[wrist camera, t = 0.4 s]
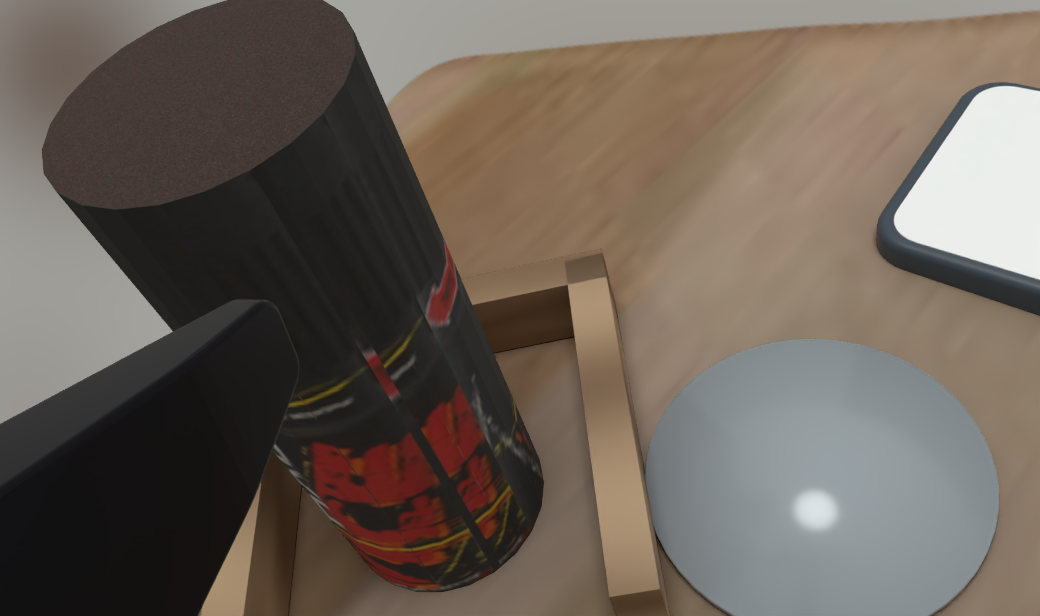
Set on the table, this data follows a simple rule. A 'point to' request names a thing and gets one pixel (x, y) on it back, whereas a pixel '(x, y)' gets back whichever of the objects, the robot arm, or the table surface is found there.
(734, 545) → the coaster
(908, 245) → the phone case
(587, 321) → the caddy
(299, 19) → the deodorant
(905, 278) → the table surface
